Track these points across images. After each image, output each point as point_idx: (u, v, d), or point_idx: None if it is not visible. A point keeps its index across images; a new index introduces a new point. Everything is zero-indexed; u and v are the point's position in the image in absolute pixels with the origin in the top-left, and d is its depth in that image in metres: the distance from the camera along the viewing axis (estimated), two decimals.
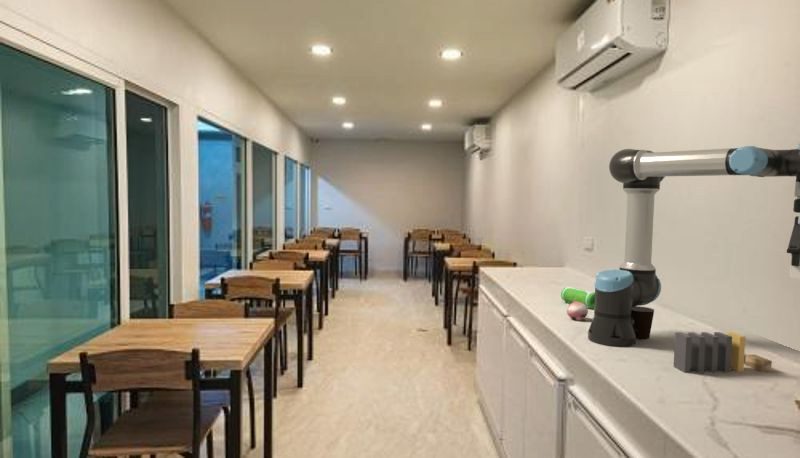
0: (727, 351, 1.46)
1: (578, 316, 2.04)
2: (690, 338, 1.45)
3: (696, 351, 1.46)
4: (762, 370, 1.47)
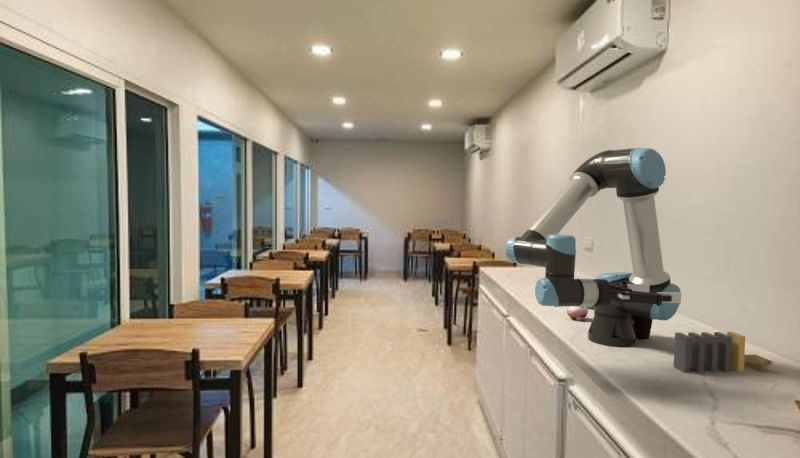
0: (727, 351, 1.46)
1: (578, 316, 2.04)
2: (690, 338, 1.45)
3: (697, 351, 1.46)
4: (762, 370, 1.47)
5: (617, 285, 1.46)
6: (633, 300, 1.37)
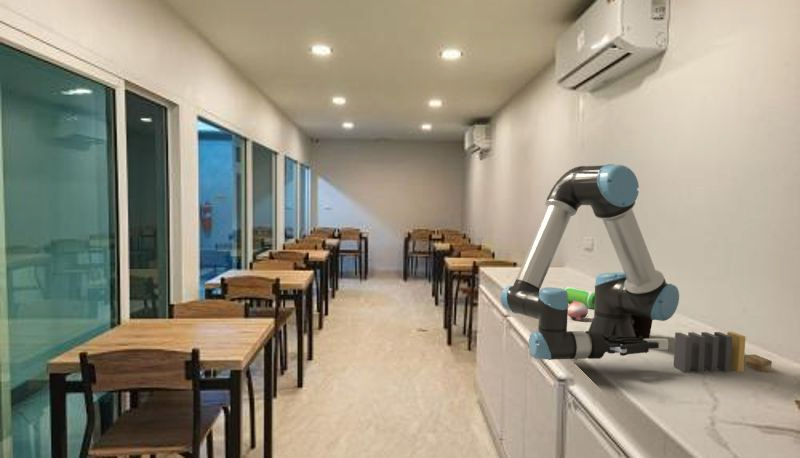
0: (727, 351, 1.46)
1: (578, 316, 2.04)
2: (690, 338, 1.45)
3: (697, 351, 1.46)
4: (762, 370, 1.47)
5: (615, 337, 1.46)
6: (629, 352, 1.41)
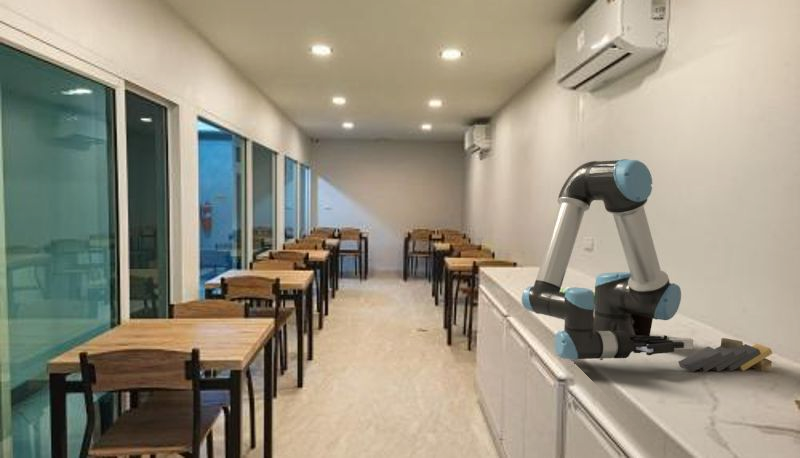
0: (746, 357, 1.47)
1: None
2: (721, 356, 1.46)
3: None
4: (762, 370, 1.47)
5: (640, 337, 1.47)
6: (655, 352, 1.41)
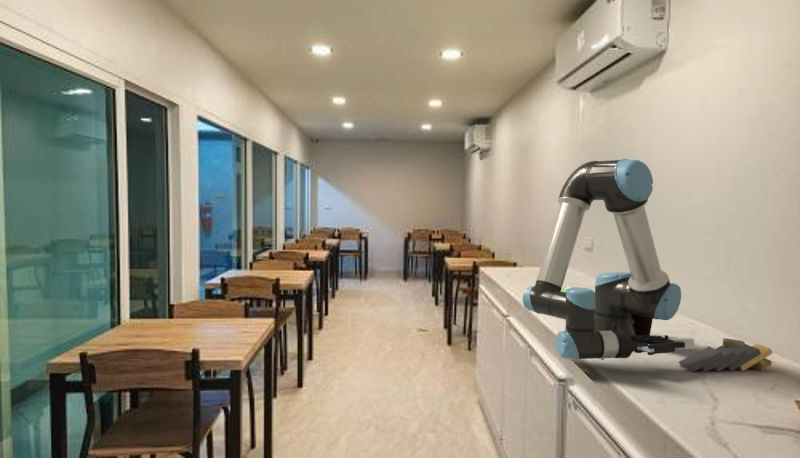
0: (746, 357, 1.47)
1: None
2: (721, 355, 1.46)
3: None
4: (762, 370, 1.47)
5: (641, 337, 1.47)
6: (656, 351, 1.41)
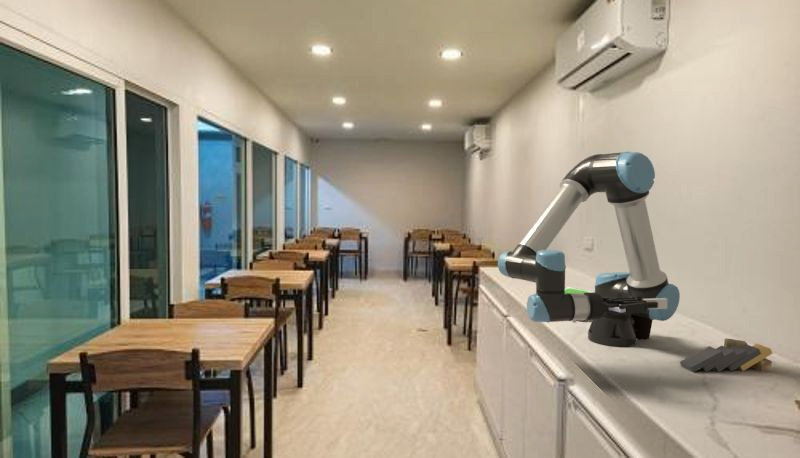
0: (747, 357, 1.47)
1: None
2: (722, 355, 1.46)
3: None
4: (762, 370, 1.47)
5: (614, 298, 1.45)
6: (628, 312, 1.39)
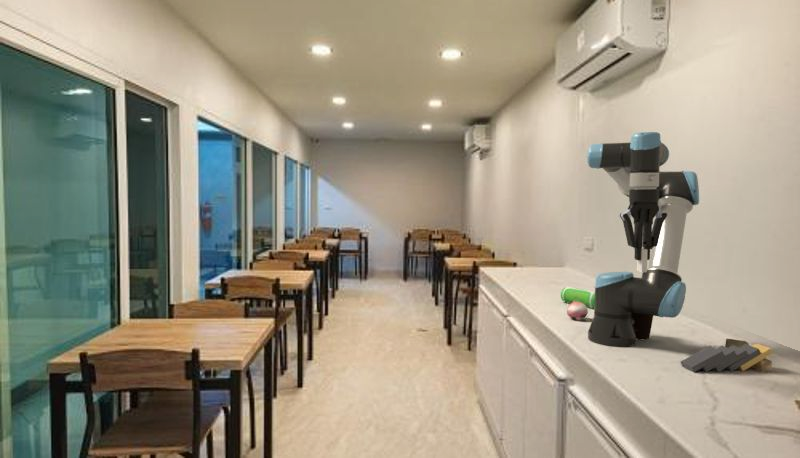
0: (747, 357, 1.47)
1: (578, 316, 2.04)
2: (722, 355, 1.46)
3: None
4: (762, 370, 1.47)
5: None
6: None
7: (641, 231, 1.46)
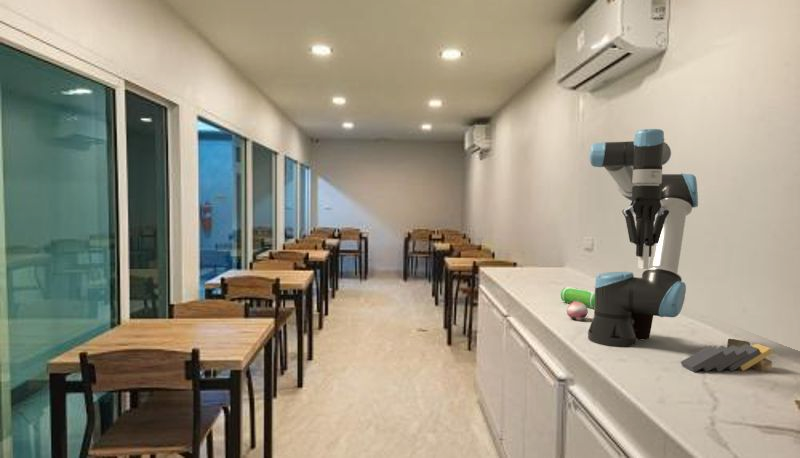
0: (747, 357, 1.47)
1: (578, 316, 2.04)
2: (723, 355, 1.46)
3: None
4: (762, 370, 1.47)
5: None
6: None
7: (643, 227, 1.47)
